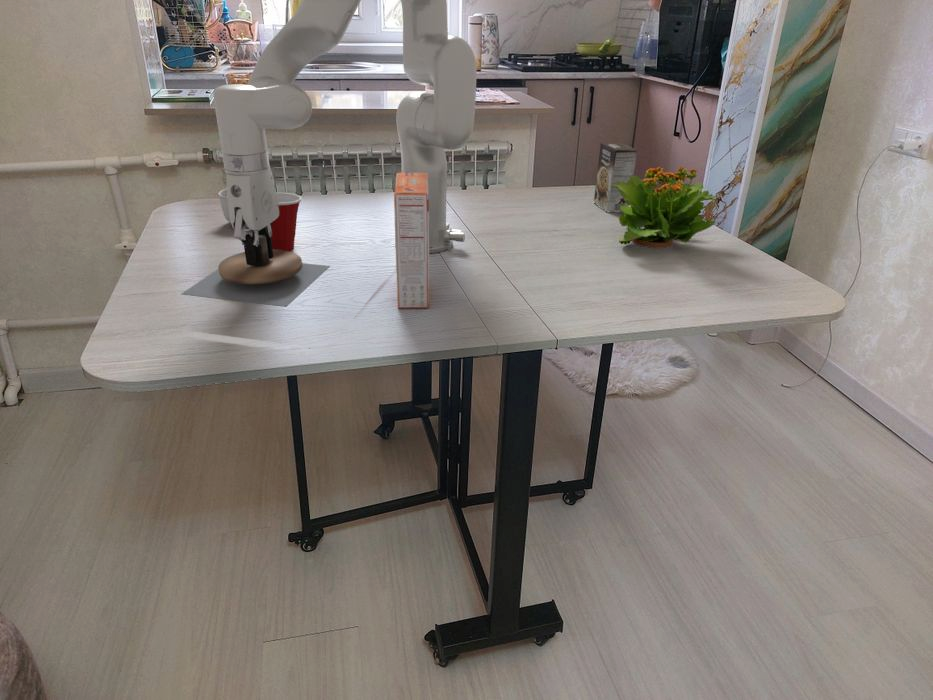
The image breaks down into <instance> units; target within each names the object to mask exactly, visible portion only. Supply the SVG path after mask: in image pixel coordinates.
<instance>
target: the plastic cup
mask: <svg viewBox="0 0 933 700" xmlns="http://www.w3.org/2000/svg"><path fill="white" fill-rule="evenodd" d="M276 194H277V200H278V206H279V216H278V218H277V219H276V220H274V221H273V222H272V225H271V230H272V236H271V240H272V248H273V249H277V250H285V251H289V252H292V251H293V250H294V249H295V238H296V231H297V230H296V229H297V219H298V218H297V217H298V212H299V206H300V202H301V201H302V198H303V197H302V196H300V195H298V194H296V193H289V192H283V191H282V192H278V191H276Z"/></svg>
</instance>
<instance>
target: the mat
mask: <svg viewBox="0 0 933 700" xmlns="http://www.w3.org/2000/svg"><path fill="white" fill-rule="evenodd" d="M330 267H331V266H330V265H324V264H316V263H315V264H314V263H307V262H305V263H304V262H302V269H301V270H300V271H299V272H298V273H297V274H295V275H294V276H291V277H289V278H287V279H284V280H280V281H276V282H271V283H264V284H239V283H234V282H230V281H227V280H225V279H223V278H222V277H221V276H220V274H219V269H218V268H217V269H216V270H214V271H213V272H211V273H210V274H208V275H207V276H206V277H204V278H202V279H201V280H199V281H198V282H196V283H194V285H192V286H191V287H189V288H188V289H186V290H184V291H183V292H182V293H181V295H185V296H186V295H187V296H195V297H202V298H204V297H205V298H210V299H219V300H226V301H227V300H228V301H234V302H235V301H237V302H242V303H243V302H244V303H252V304H261V305H269V306H270V305H271V306H278V307H288V306H289V305H291V303H292V302H293V301H294V300H295V299H297V297H298V296H300V295H301V294H302V293H303V292H304V291H305V290H306V289H307V288H308V287H310V286H311V284H313V283H314V282H315V281H316V280H317V279H318V278H319V277H320V276H321V275H322V274H324V272H326V271H327V270H328V269H329V268H330Z"/></svg>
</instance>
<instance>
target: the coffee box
mask: <svg viewBox="0 0 933 700" xmlns="http://www.w3.org/2000/svg"><path fill="white" fill-rule="evenodd" d="M599 145H600V146H599V154H598V164H597V170H596V171H597V172H596V181H595V187H594V198H593V203H594V202H595V203H596V204H598V205H599V206H600V207H602V208H603V209H604V210H606V211H621V209H620V207H621V206H629V207H630V205H627V203H626V202H625V201H624V197H623V196H622V195H621V193H620V191H619V189H618V188H616V187H613V186H611V185H617V184H616V182H618V181H619V182H621V183H622V182H623V181H624V182H625V183H626V184H627V181H628V180H630V179H629V178H630V177H631V175H635V174H634V173H635V167H636V161H637V156H638V155H637V154H638V150H637V149H636V148H633V147H632V146H630V145H627V144H625V143H624V142H600V144H599ZM596 204H595V205H596ZM599 206H598V207H599ZM600 207H599V208H600ZM603 209H602V210H603ZM604 210H603V211H604ZM606 211H605V212H606Z"/></svg>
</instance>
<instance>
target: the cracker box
mask: <svg viewBox="0 0 933 700" xmlns="http://www.w3.org/2000/svg"><path fill="white" fill-rule="evenodd" d="M393 196H394V197H393V199H394V200H393V202H394V203H393V204H394V207H393V209H394V213H393V214H394V239H395V244H394V245H395V266H396V268H395V269H396V290H397V291H396V293H397V296H396V297H397V308H398V309H429V308H430V253H429V192H428V176H427V173H409V172H402V171H401V172H396V179H395V186H394V193H393Z"/></svg>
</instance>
